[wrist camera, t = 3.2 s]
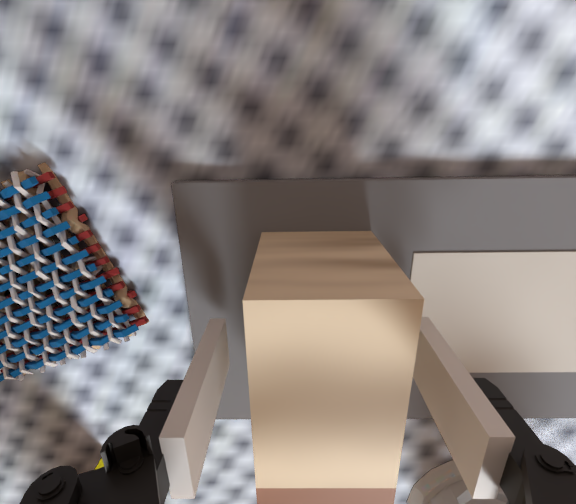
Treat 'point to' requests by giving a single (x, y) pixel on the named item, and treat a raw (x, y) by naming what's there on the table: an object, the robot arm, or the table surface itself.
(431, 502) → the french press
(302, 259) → the maple block
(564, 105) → the table surface
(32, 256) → the woven mat
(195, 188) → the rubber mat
